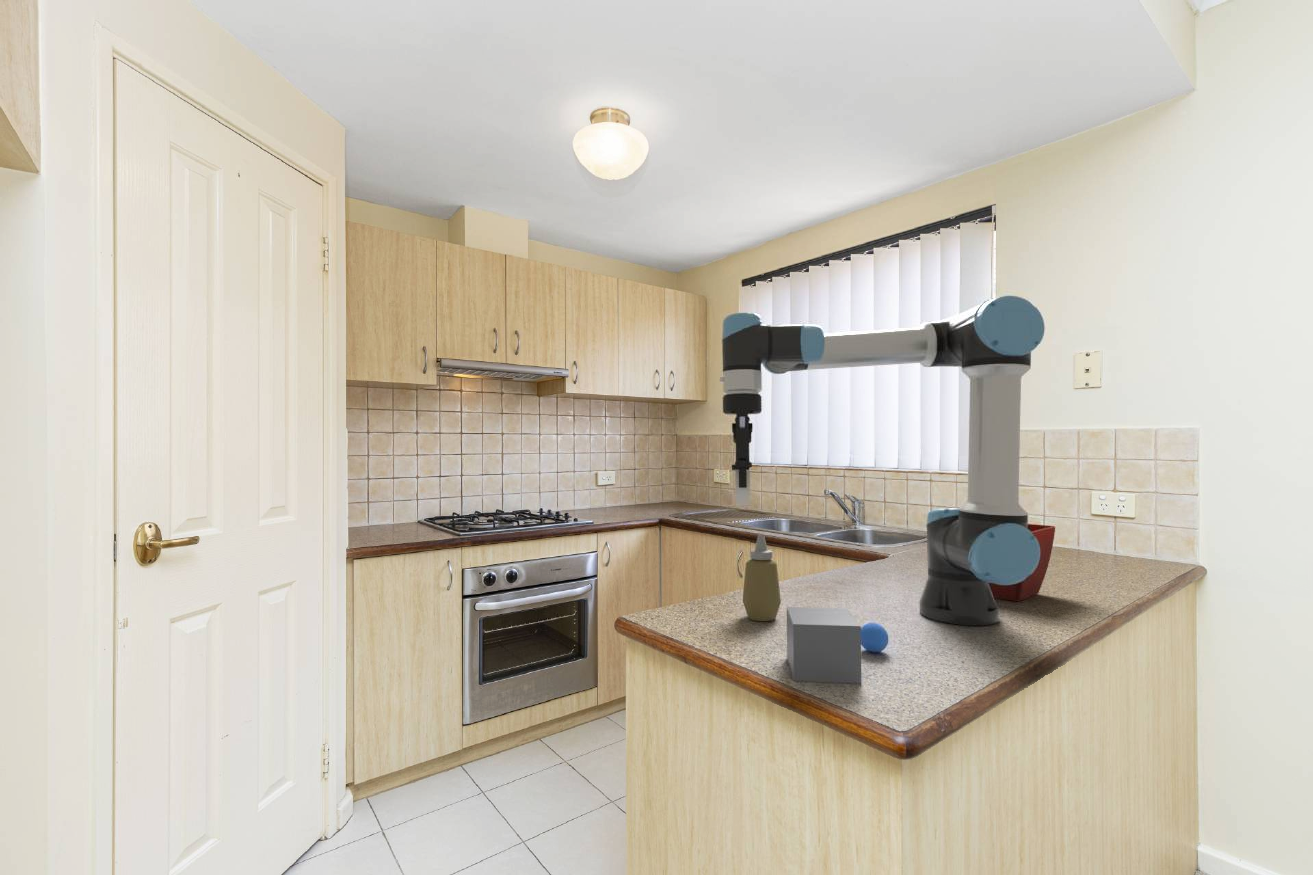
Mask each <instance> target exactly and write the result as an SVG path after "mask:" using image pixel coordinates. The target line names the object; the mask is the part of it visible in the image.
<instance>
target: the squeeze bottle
mask: <svg viewBox="0 0 1313 875" xmlns="http://www.w3.org/2000/svg"><path fill="white" fill-rule="evenodd" d="M754 547H755V548H753V549H751V550H750V551H749V557H750V559H749V560H747V561H746V563H745V568H744V569H745V570H744V571H745V572H744V579H743V580H744V581H743V591H742V602H743V603H742V604H743V606H744V609H745V613H746V615H747V618H748V619H750V620H752V621H757V622H771V621H775V619H776V618H777V615H778V612H779V609H780V606H781V602H782V599H781V592H780V581H779V572H778V563H777V562H776V561H774V560H773V550H771V549H768V546H767V542H766V538H765V534H764V533H762V532H760V533H758V534H757V539H756V542H755V546H754Z"/></svg>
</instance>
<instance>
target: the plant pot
mask: <svg viewBox="0 0 1313 875" xmlns="http://www.w3.org/2000/svg"><path fill="white" fill-rule="evenodd" d="M1028 530H1030V531H1031V532H1032V534H1033V535H1034V537H1036V539H1037V540H1038V543H1039V546H1040V559H1039V563H1038V565H1037V567H1036V569H1035V570H1034V572H1033V573H1032V574H1031V575H1029V576H1028V577H1027V578H1025V580H1023V581H1021V582H1019V583H1016V584H1012V585H999V584H995V583H989V586H990V589H991V591H992V594H993V597H994V599H1000V598H1001V600H1006V601H1013V602H1020V601H1023V600H1025V599H1028V598H1031V597H1033V596H1036V595H1038V594H1039V592H1040V590H1041V588H1042V585H1043V584H1044V583H1043V582H1044V579H1045V577H1046V574H1047V570H1048V566H1049V563H1050V560H1051V555H1052V550H1053V545H1054V539H1055V534H1056V526H1055V525H1045V524H1032V523H1028Z"/></svg>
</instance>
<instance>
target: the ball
mask: <svg viewBox="0 0 1313 875" xmlns="http://www.w3.org/2000/svg"><path fill="white" fill-rule="evenodd" d="M888 644H889V635H888V632H887V630H886V629H885V628H884V627H883V625H881V624H879V623H875V622H868V623H865V624H864V625H862V626H861V647H863V649H865V650H866V651H867V652H870V653H880V652H883V651H884V650H885V649H886V647H888Z"/></svg>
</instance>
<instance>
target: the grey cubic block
mask: <svg viewBox="0 0 1313 875" xmlns="http://www.w3.org/2000/svg"><path fill="white" fill-rule="evenodd" d="M861 628H862V626H861V624H860V623H859V622H858V620H857V619H856V618H855V617H854V615H853V614H852V612H851V611H850V609H848V607H847V608H845V607H844V608H843V607H841V608H839V607H810V606H808V607H805V606H786V660H787V664H788V667H789V669H790V672H791V676H792V680H793V681H794V682H804V683H805V682H807V683H808V682H809V683H831V684H832V683H833V684H834V683H835V684H852V685H853V684H857V685H862V645H861Z"/></svg>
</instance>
